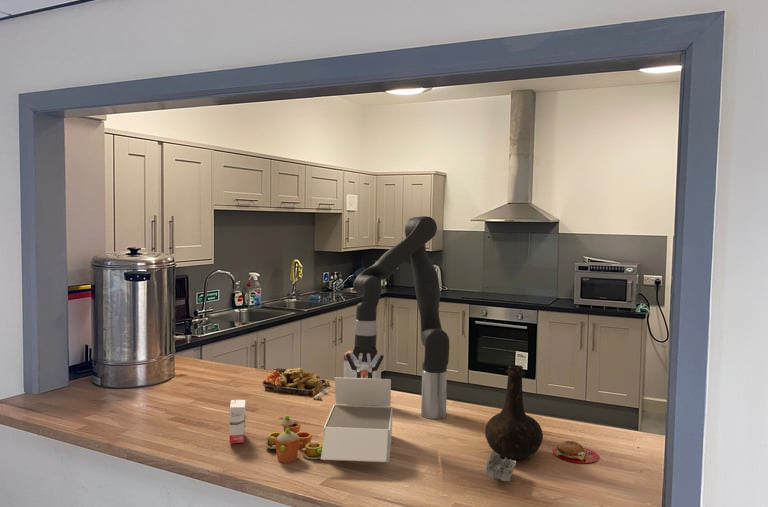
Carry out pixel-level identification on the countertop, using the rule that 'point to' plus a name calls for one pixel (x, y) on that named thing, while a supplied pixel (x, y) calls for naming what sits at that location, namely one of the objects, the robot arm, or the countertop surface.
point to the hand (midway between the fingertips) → (364, 382)
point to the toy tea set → (293, 442)
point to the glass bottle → (514, 423)
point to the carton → (358, 433)
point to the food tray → (296, 382)
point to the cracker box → (364, 366)
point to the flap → (363, 390)
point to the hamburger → (574, 452)
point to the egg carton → (499, 467)
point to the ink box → (237, 421)
